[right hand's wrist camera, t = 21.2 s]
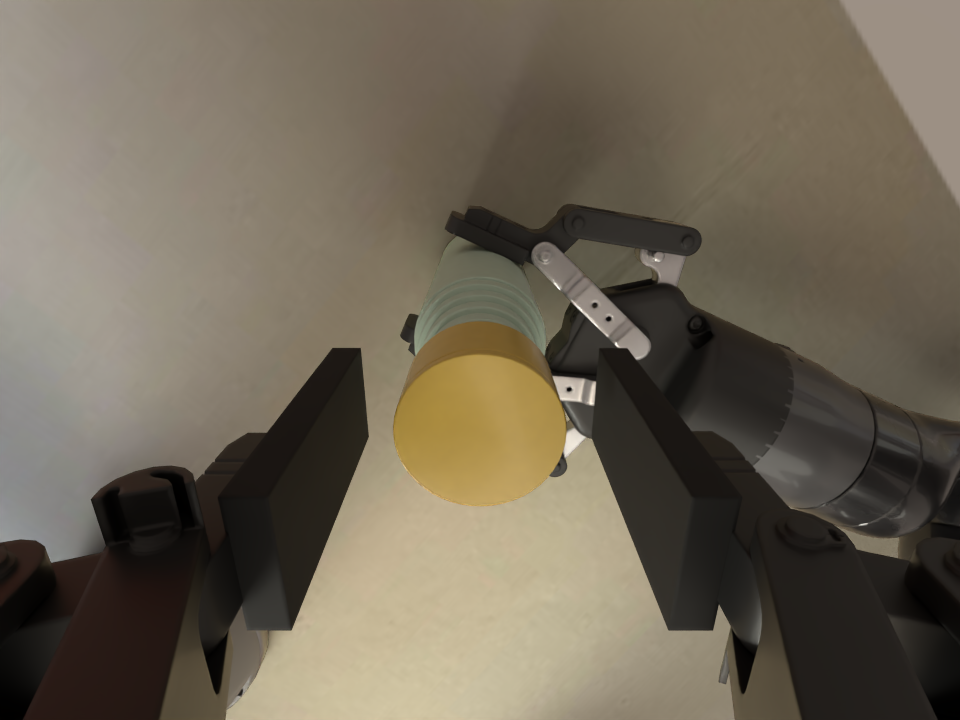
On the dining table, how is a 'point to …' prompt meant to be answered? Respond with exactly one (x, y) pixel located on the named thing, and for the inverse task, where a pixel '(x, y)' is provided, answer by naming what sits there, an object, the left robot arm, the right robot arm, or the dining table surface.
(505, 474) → the cap
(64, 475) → the dining table surface
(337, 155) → the dining table surface
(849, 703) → the right robot arm
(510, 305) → the bottle
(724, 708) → the dining table surface
